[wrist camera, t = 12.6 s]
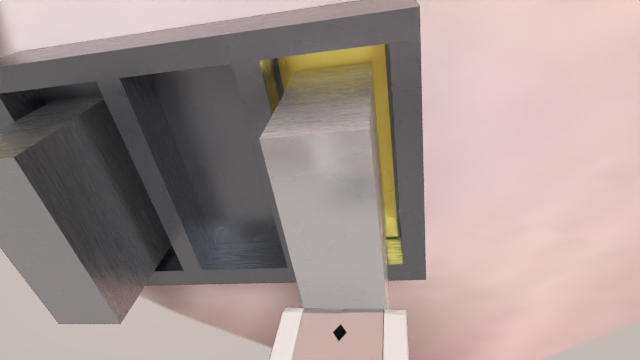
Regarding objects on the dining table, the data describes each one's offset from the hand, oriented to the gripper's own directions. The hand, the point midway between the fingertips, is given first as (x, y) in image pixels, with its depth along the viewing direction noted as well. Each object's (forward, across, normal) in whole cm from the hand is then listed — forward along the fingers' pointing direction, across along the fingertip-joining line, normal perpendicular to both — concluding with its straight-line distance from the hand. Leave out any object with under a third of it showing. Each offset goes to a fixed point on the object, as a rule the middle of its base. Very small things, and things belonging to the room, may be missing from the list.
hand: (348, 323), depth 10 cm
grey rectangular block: (+9, +1, 0) cm, 9 cm away
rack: (+10, +7, 0) cm, 12 cm away
